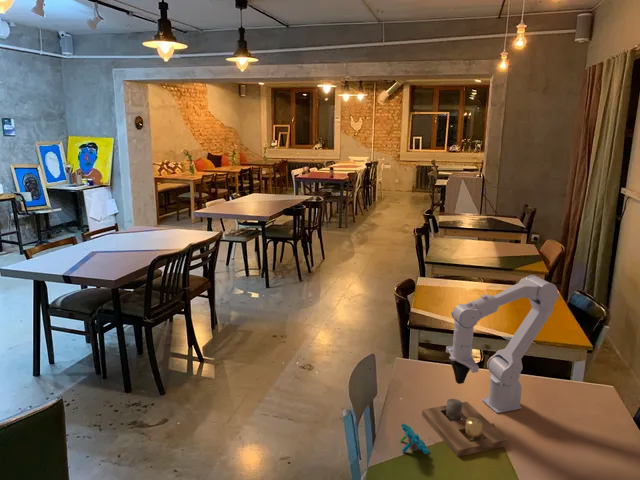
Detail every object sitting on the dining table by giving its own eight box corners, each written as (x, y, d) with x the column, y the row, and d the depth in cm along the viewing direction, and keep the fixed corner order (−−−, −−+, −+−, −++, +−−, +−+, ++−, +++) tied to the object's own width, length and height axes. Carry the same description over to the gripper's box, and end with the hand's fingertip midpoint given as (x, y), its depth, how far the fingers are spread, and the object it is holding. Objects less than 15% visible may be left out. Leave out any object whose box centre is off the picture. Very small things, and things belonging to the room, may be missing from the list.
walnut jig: (466, 407, 151) (467, 390, 150) (507, 445, 133) (509, 427, 131) (422, 415, 147) (423, 398, 146) (457, 456, 128) (459, 437, 127)
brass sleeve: (473, 434, 138) (475, 415, 137) (484, 443, 134) (486, 424, 133) (461, 437, 136) (462, 419, 135) (471, 447, 132) (473, 428, 131)
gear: (435, 457, 126) (410, 433, 125) (420, 473, 126) (394, 449, 125) (423, 436, 137) (400, 414, 135) (409, 451, 137) (385, 428, 136)
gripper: (438, 335, 151) (436, 373, 154) (465, 354, 137) (462, 396, 140) (457, 332, 153) (455, 370, 156) (485, 351, 139) (482, 392, 142)
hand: (459, 382), depth 148 cm, fingers closed
